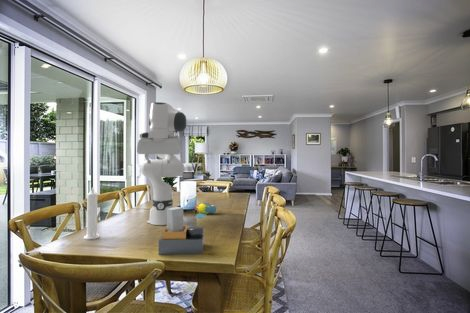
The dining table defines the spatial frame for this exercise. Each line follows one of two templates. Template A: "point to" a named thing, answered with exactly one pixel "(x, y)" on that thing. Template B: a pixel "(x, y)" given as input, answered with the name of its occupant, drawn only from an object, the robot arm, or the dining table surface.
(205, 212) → the blue and yellow piece
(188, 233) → the grey and orange organizer
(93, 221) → the candle
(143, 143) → the robot arm
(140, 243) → the dining table surface
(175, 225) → the skincare box
